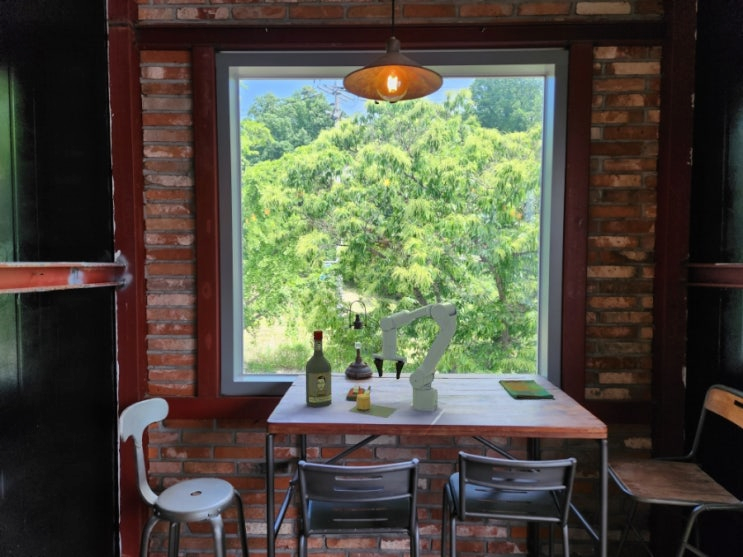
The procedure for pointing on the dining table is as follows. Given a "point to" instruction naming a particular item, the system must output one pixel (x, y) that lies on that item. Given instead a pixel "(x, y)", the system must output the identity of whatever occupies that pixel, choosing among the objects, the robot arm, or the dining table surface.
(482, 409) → the dining table surface
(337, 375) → the dining table surface
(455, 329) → the robot arm
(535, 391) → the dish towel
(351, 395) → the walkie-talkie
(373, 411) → the board
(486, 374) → the dining table surface
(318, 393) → the liquor
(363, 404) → the cap
